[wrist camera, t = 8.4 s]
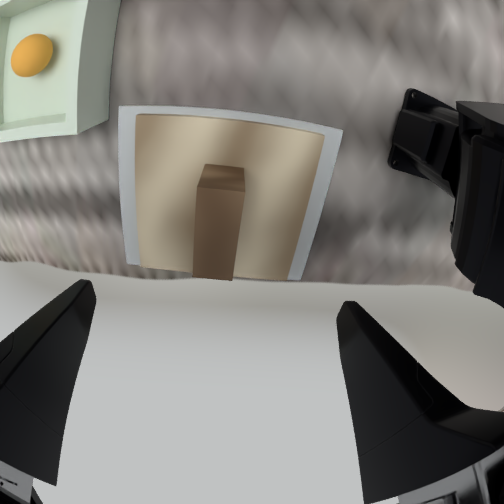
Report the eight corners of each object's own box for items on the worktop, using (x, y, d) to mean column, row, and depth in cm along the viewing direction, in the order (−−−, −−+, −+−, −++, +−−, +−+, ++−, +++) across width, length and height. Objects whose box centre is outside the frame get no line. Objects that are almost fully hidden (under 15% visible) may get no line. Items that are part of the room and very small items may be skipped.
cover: (321, 133, 17) (346, 153, 13) (285, 274, 24) (293, 317, 20) (139, 113, 16) (110, 127, 12) (143, 261, 23) (127, 301, 19)
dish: (126, -23, 10) (99, -41, 6) (108, 119, 16) (77, 134, 13) (11, 12, 9) (-24, 12, 5) (4, 130, 15) (-30, 148, 11)
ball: (64, 32, 11) (38, 25, 8) (57, 73, 13) (30, 72, 10) (33, 41, 11) (6, 38, 8) (27, 80, 12) (-1, 82, 10)
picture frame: (340, 129, 18) (343, 130, 17) (299, 276, 25) (300, 280, 25) (121, 105, 16) (118, 106, 15) (128, 260, 23) (127, 263, 23)
